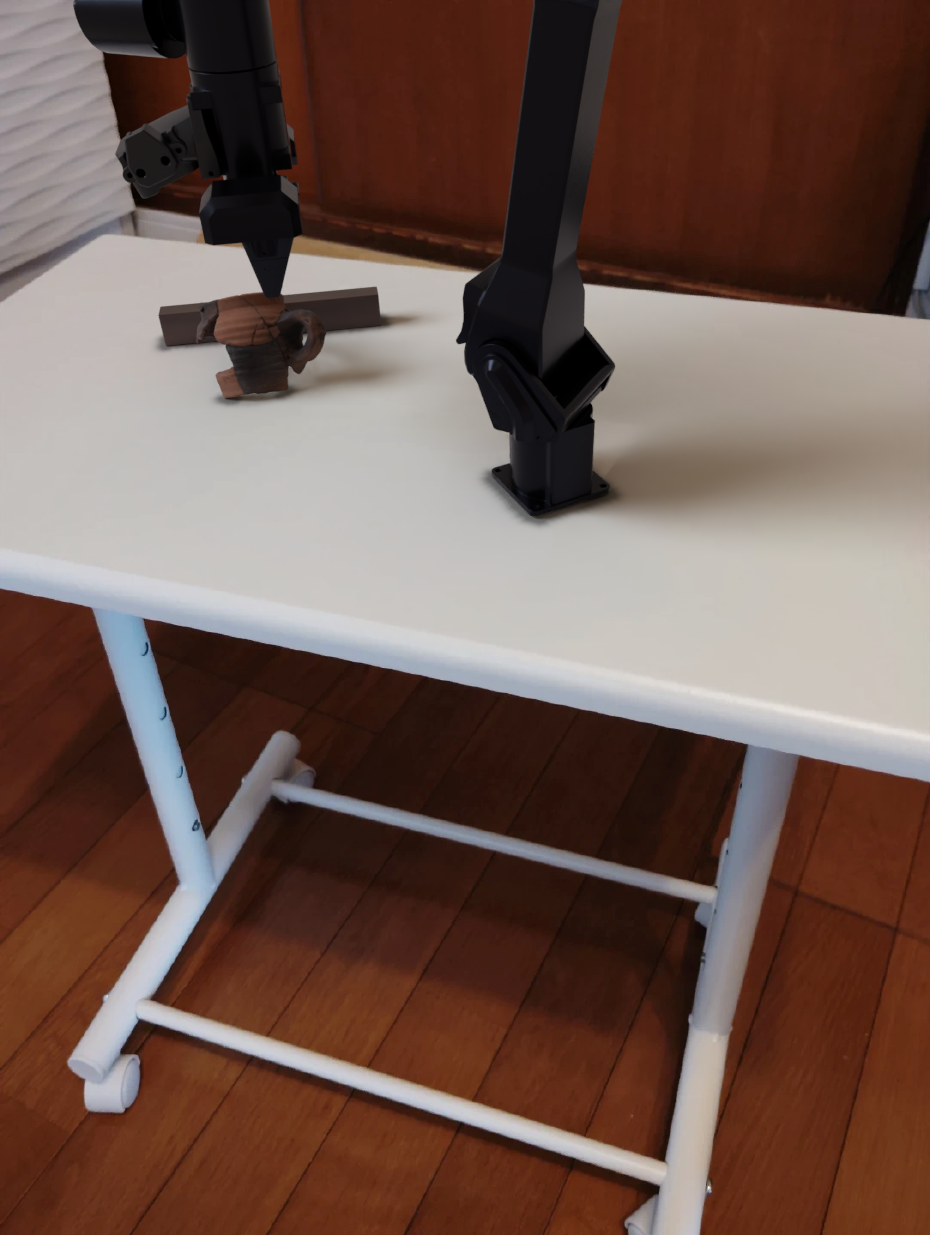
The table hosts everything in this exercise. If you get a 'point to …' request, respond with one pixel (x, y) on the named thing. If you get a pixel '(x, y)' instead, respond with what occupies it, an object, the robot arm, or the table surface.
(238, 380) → the pottery mug
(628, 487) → the table surface
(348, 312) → the rail
